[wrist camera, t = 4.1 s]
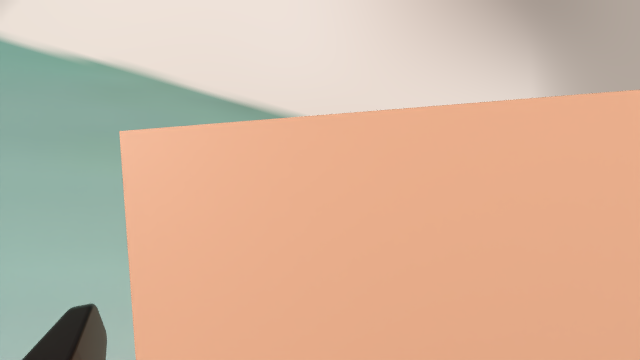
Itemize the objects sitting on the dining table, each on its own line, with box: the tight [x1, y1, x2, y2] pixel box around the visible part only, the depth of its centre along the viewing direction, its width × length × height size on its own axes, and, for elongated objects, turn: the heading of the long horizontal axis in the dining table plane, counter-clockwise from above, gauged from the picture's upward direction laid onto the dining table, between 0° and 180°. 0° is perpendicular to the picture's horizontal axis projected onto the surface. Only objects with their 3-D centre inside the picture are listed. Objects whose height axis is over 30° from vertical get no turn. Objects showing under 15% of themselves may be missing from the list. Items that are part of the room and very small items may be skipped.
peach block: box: [119, 90, 640, 360], centre depth 9 cm, size 5×5×13 cm
